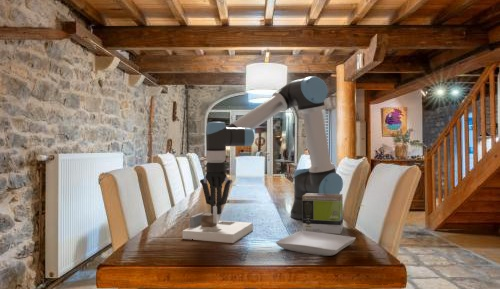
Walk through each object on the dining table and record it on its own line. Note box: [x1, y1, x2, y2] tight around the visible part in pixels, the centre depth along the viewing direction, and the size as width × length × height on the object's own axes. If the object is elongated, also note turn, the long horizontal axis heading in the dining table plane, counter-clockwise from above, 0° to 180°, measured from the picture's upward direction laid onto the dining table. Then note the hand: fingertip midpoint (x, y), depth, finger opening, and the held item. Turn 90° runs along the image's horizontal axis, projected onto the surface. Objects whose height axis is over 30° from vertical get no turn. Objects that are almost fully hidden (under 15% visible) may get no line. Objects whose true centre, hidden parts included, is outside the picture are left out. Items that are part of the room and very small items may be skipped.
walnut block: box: [201, 212, 217, 227], centre depth 159 cm, size 4×4×4 cm
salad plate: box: [275, 230, 356, 257], centre depth 138 cm, size 21×21×3 cm
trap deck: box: [182, 212, 254, 244], centre depth 158 cm, size 20×22×7 cm
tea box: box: [301, 193, 344, 235], centre depth 164 cm, size 15×10×15 cm
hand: (216, 222), depth 158 cm, fingers closed
